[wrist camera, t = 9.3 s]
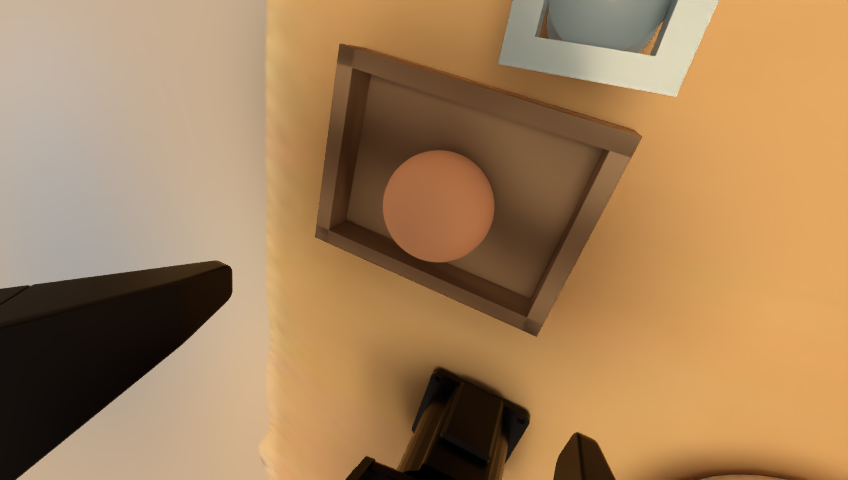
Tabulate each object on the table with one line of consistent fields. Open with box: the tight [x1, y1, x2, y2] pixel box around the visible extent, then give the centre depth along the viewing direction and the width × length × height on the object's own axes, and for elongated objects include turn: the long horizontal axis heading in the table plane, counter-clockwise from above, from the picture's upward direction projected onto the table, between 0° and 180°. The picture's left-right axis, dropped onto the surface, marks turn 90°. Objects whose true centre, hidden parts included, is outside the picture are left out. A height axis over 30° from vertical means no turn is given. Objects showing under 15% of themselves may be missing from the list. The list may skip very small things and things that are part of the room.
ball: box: [383, 150, 495, 262], centre depth 17 cm, size 5×5×5 cm
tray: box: [315, 44, 642, 337], centre depth 18 cm, size 10×13×2 cm
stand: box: [498, 0, 719, 97], centre depth 12 cm, size 5×5×6 cm
